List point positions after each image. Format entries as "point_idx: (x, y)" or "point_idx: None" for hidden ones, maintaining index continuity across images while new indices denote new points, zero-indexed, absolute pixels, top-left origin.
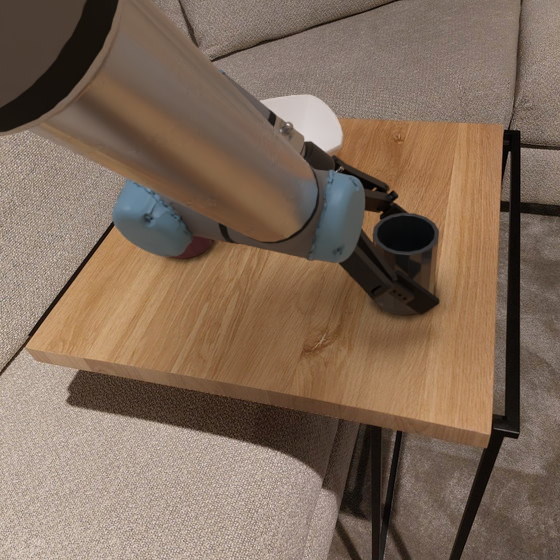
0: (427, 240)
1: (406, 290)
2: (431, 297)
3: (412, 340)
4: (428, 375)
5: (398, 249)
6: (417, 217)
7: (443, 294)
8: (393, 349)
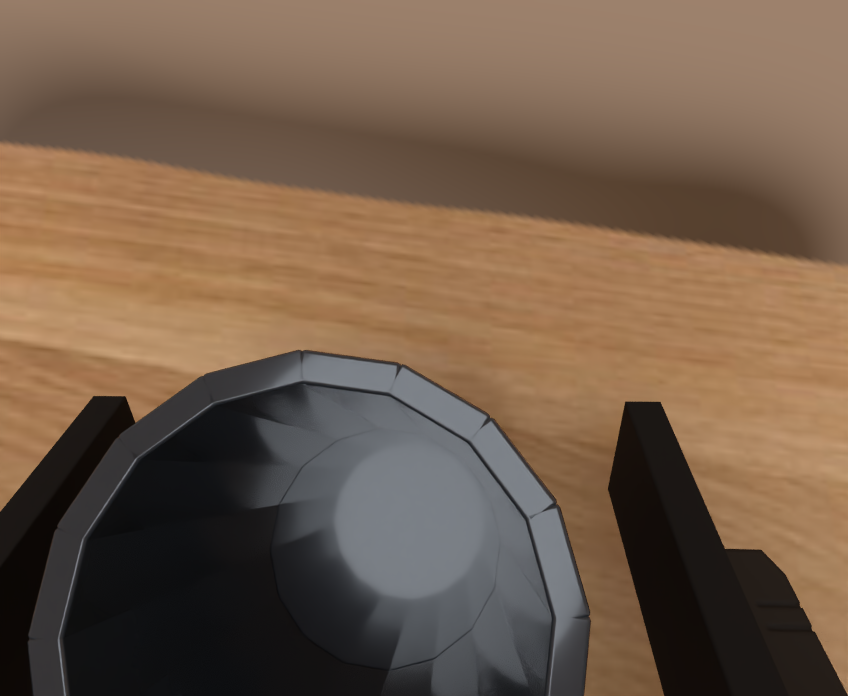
0: (253, 432)
1: (777, 615)
2: (675, 443)
3: None
4: (823, 469)
5: (218, 592)
6: (110, 508)
7: None
8: None
